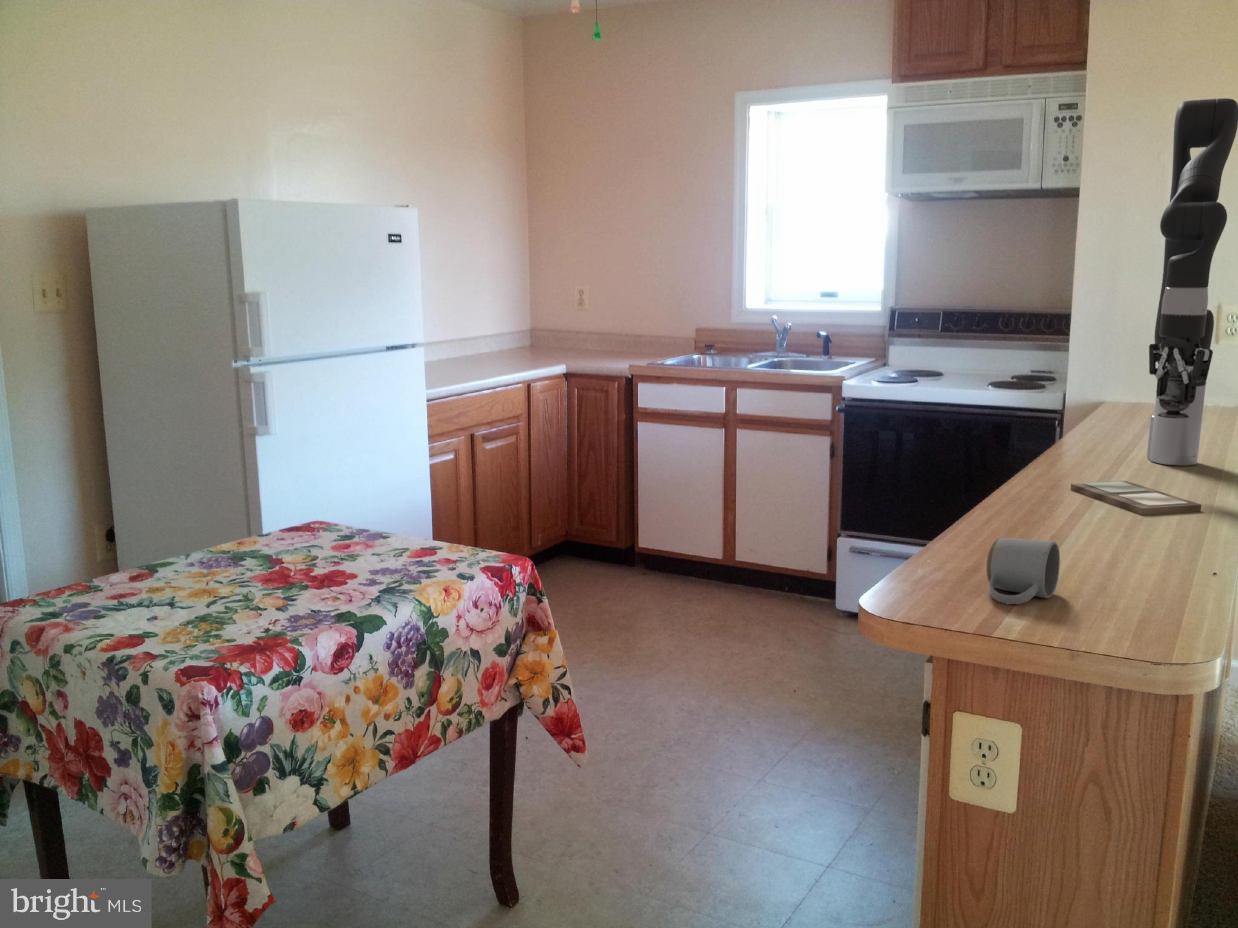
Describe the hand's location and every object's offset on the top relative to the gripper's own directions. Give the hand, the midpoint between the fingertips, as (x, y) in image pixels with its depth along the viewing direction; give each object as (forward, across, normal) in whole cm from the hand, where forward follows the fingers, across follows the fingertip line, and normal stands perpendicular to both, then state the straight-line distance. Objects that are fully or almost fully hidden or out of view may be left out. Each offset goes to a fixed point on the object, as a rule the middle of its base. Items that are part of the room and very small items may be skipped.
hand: (1174, 400), depth 196 cm
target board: (+17, -6, +12) cm, 22 cm away
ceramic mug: (+18, -49, +63) cm, 81 cm away
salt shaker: (+3, 0, 0) cm, 3 cm away
